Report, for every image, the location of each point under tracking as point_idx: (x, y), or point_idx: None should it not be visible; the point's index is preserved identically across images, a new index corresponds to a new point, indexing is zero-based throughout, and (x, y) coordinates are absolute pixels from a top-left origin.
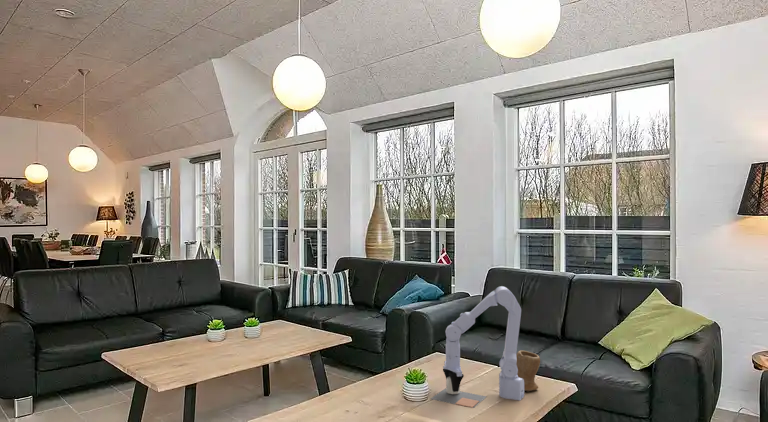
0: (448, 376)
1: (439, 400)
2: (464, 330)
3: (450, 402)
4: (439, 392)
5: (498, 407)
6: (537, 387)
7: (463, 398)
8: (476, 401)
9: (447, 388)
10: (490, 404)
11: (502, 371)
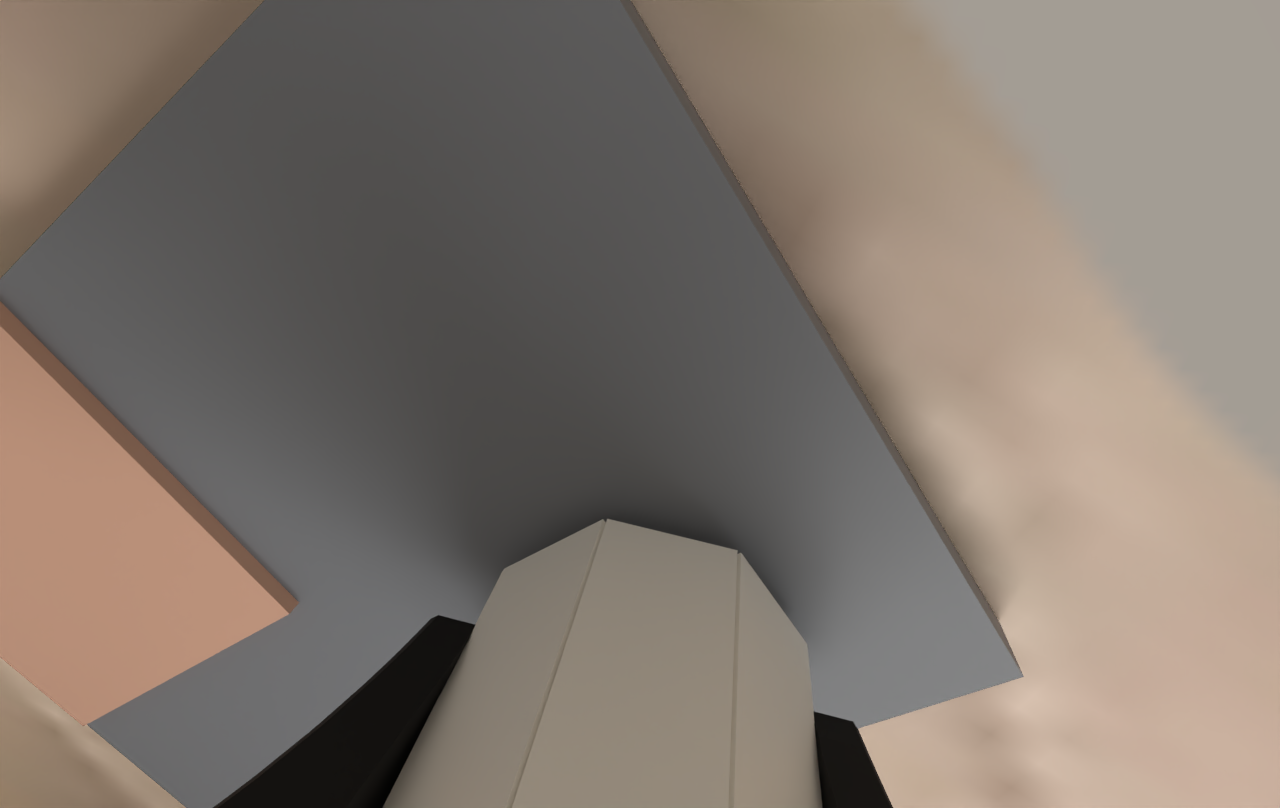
0: None
1: (273, 35)
2: None
3: (94, 247)
4: (855, 401)
5: (35, 787)
6: None
7: (239, 604)
8: (63, 684)
9: (636, 608)
10: (145, 783)
11: None
